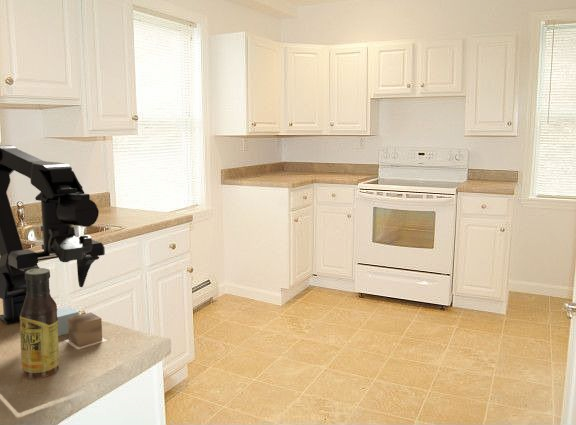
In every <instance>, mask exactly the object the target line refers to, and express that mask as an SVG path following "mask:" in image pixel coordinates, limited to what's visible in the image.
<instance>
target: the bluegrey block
mask: <svg viewBox="0 0 576 425" xmlns="http://www.w3.org/2000/svg"><path fill="white" fill-rule="evenodd" d="M78 315H79V311H78V310H76V309H73V308H72V307H70V306H64V307H61V308H57V318H58V337H60V336H64V335H69V331H68V318H70V317H74V316H78Z"/></svg>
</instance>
